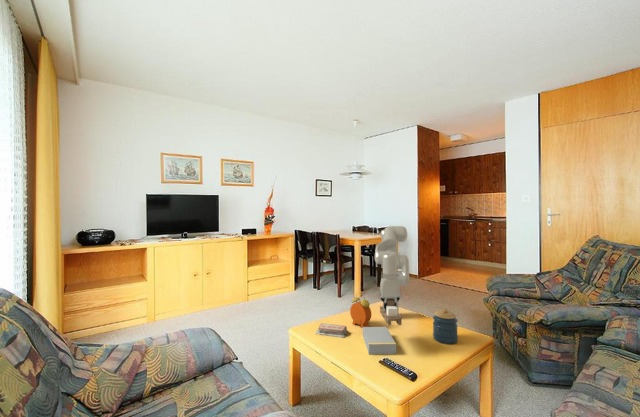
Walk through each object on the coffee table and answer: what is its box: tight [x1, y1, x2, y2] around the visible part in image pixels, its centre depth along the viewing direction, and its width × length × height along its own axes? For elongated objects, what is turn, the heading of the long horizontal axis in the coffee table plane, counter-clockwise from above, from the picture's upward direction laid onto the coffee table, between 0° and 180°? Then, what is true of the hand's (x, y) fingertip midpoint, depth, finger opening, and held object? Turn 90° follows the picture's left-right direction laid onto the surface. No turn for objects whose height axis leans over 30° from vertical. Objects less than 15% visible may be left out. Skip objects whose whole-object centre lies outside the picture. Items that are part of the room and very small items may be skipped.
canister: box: [432, 307, 459, 345], centre depth 167 cm, size 13×13×18 cm
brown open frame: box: [379, 298, 402, 326], centre depth 162 cm, size 19×7×10 cm, turn 1°
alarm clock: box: [349, 292, 372, 329], centre depth 188 cm, size 13×6×20 cm, turn 40°
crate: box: [386, 306, 398, 316], centre depth 158 cm, size 4×5×4 cm
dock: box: [362, 326, 397, 355], centre depth 162 cm, size 22×14×5 cm, turn 0°
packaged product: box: [315, 322, 348, 339], centre depth 177 cm, size 18×5×10 cm
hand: (390, 309), depth 162 cm, fingers closed on brown open frame, 4 cm apart
